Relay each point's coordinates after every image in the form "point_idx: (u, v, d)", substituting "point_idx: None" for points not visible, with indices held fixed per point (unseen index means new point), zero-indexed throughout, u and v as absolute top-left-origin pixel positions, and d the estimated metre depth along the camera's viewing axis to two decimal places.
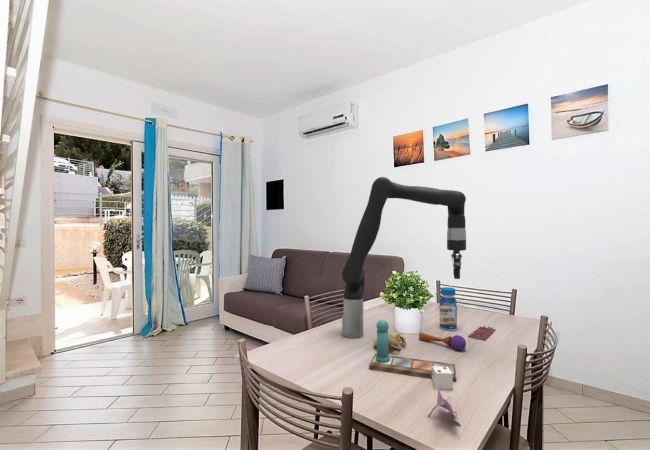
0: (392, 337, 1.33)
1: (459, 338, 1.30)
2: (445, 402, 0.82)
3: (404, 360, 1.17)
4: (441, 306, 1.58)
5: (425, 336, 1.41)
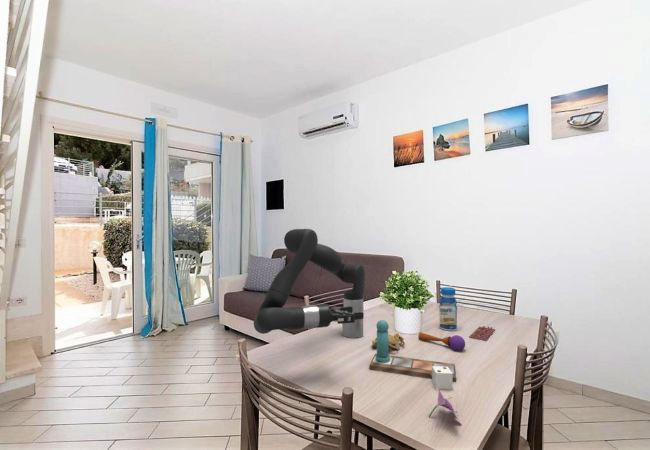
0: (390, 337, 1.34)
1: (458, 338, 1.30)
2: (446, 402, 0.82)
3: (404, 360, 1.17)
4: (441, 306, 1.58)
5: (424, 336, 1.41)
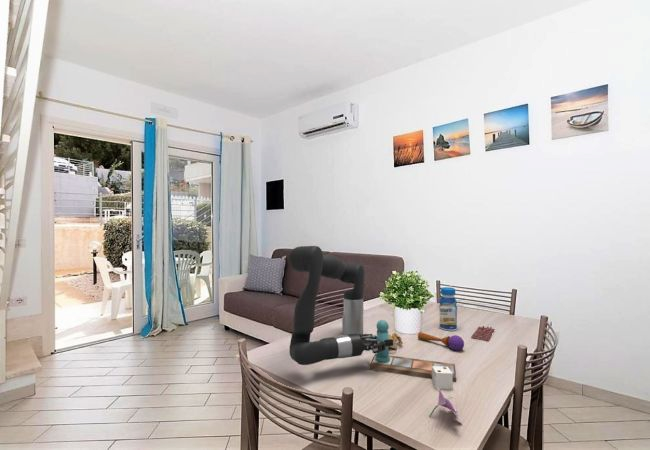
0: (388, 336, 1.34)
1: (457, 338, 1.30)
2: (446, 401, 0.82)
3: (404, 360, 1.17)
4: (441, 306, 1.58)
5: (424, 335, 1.42)
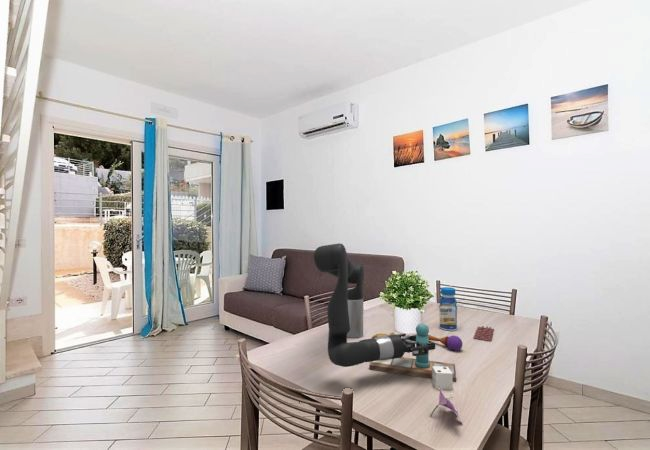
0: None
1: (455, 338, 1.30)
2: (447, 401, 0.83)
3: (404, 360, 1.17)
4: (441, 306, 1.58)
5: None
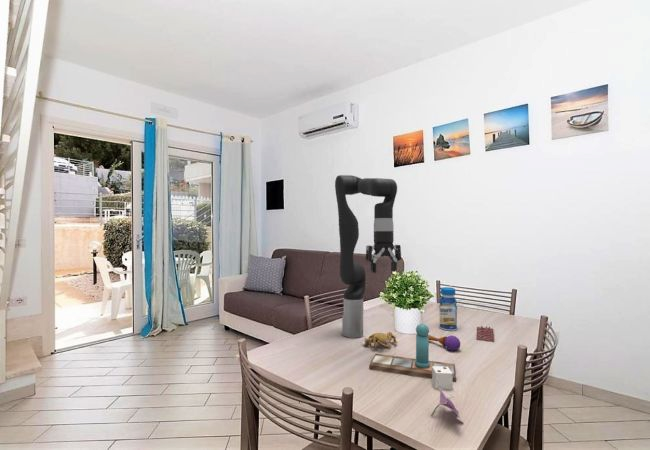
0: (382, 335, 1.36)
1: (453, 338, 1.30)
2: (448, 401, 0.83)
3: (404, 360, 1.17)
4: (441, 306, 1.58)
5: None
